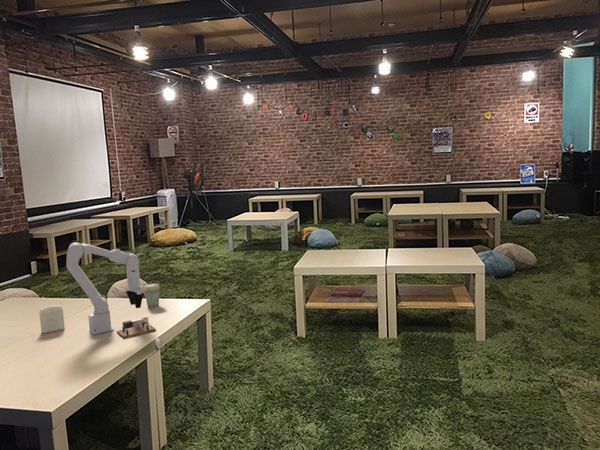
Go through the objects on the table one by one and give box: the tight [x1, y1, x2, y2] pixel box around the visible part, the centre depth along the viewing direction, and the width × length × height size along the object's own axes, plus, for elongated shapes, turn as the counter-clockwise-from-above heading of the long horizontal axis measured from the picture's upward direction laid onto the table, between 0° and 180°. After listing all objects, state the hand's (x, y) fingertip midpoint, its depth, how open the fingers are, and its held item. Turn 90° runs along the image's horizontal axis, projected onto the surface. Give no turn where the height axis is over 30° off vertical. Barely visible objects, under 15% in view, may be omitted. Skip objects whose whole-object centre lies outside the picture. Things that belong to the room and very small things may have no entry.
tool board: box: [116, 322, 157, 339], centre depth 237 cm, size 15×10×3 cm, turn 125°
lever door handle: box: [122, 316, 149, 329], centre depth 247 cm, size 12×3×3 cm, turn 125°
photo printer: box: [38, 304, 66, 334], centre depth 244 cm, size 10×4×12 cm, turn 123°
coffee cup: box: [143, 283, 161, 309], centre depth 277 cm, size 8×8×12 cm
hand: (135, 306), depth 246 cm, fingers open, 7 cm apart
